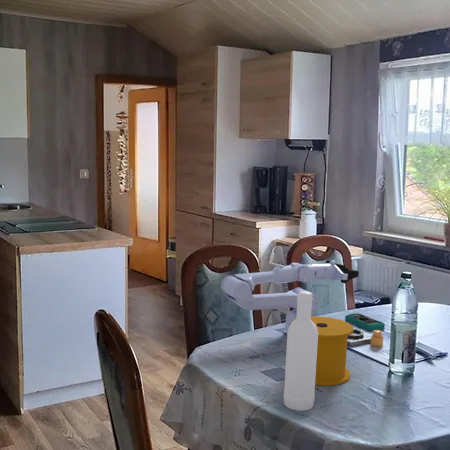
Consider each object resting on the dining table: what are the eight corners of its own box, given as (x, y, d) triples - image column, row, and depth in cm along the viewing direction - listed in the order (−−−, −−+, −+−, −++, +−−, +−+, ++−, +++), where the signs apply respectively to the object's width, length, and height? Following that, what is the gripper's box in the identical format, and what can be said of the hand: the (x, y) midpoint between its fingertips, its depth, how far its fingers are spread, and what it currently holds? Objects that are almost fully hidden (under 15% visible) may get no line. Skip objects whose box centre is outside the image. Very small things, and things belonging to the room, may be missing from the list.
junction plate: (350, 346, 209) (351, 339, 208) (326, 336, 219) (327, 329, 218) (376, 341, 215) (377, 334, 215) (352, 331, 225) (352, 324, 225)
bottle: (277, 403, 163) (282, 291, 158) (296, 395, 168) (302, 287, 164) (301, 414, 157) (307, 298, 153) (320, 405, 163) (327, 293, 158)
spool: (352, 367, 191) (355, 319, 188) (347, 389, 173) (351, 337, 171) (293, 359, 195) (296, 312, 193) (283, 380, 178) (286, 330, 176)
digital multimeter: (358, 319, 242) (358, 311, 241) (385, 330, 229) (385, 322, 229) (343, 321, 238) (343, 314, 238) (370, 333, 226) (370, 325, 225)
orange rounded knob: (376, 348, 208) (377, 334, 207) (368, 344, 211) (369, 330, 211) (385, 346, 210) (386, 332, 209) (376, 343, 214) (377, 328, 213)
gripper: (334, 266, 213) (365, 265, 219) (310, 255, 226) (340, 255, 232) (331, 286, 214) (362, 284, 221) (307, 274, 227) (337, 273, 233)
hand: (351, 271), depth 226 cm, fingers open, 7 cm apart
